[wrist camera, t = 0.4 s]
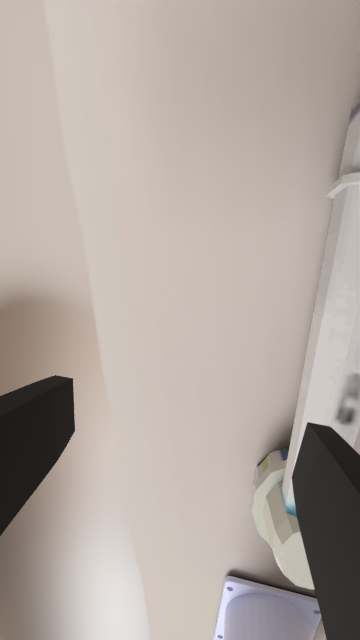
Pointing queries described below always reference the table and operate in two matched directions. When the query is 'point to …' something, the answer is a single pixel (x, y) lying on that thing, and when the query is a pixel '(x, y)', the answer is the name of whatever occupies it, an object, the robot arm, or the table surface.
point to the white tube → (321, 368)
